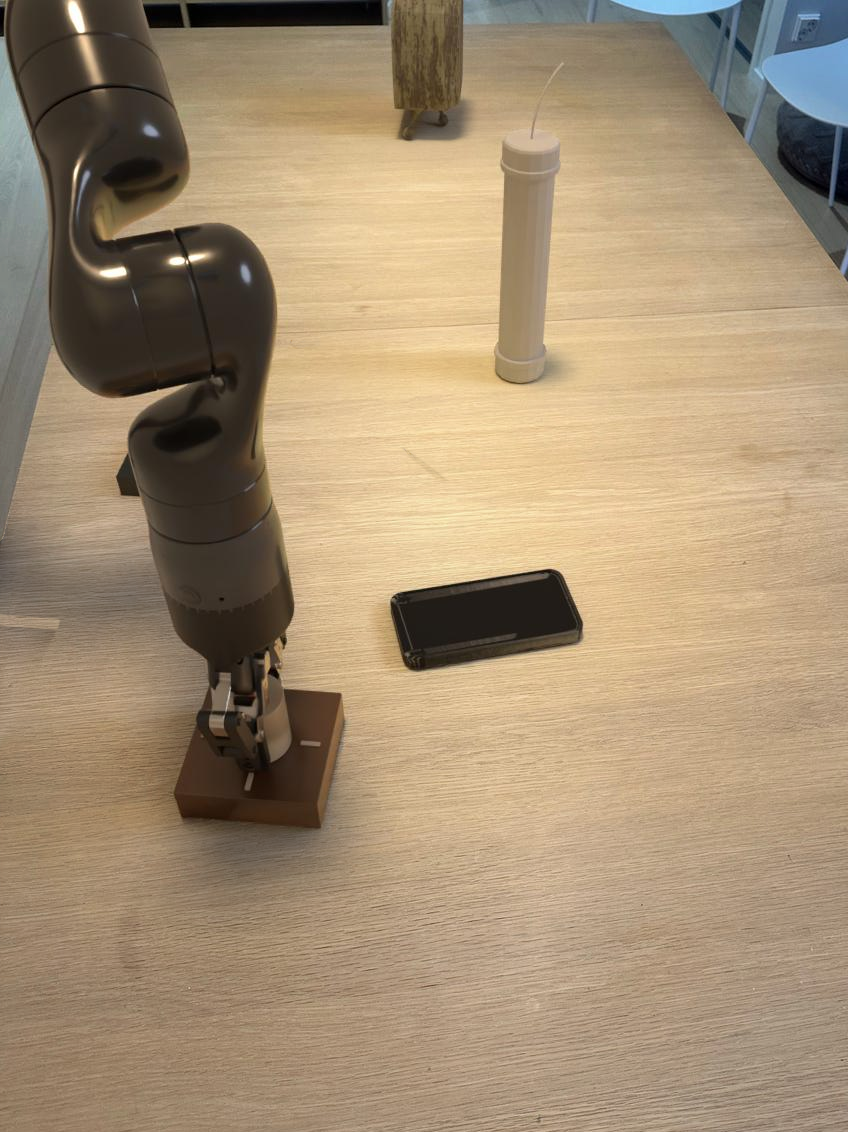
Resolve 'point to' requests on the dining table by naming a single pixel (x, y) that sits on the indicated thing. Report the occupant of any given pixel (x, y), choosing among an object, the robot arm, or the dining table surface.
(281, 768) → the panel
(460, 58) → the tabletop clock
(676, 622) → the dining table surface
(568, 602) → the phone
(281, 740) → the dial
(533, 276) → the dynamite stick
